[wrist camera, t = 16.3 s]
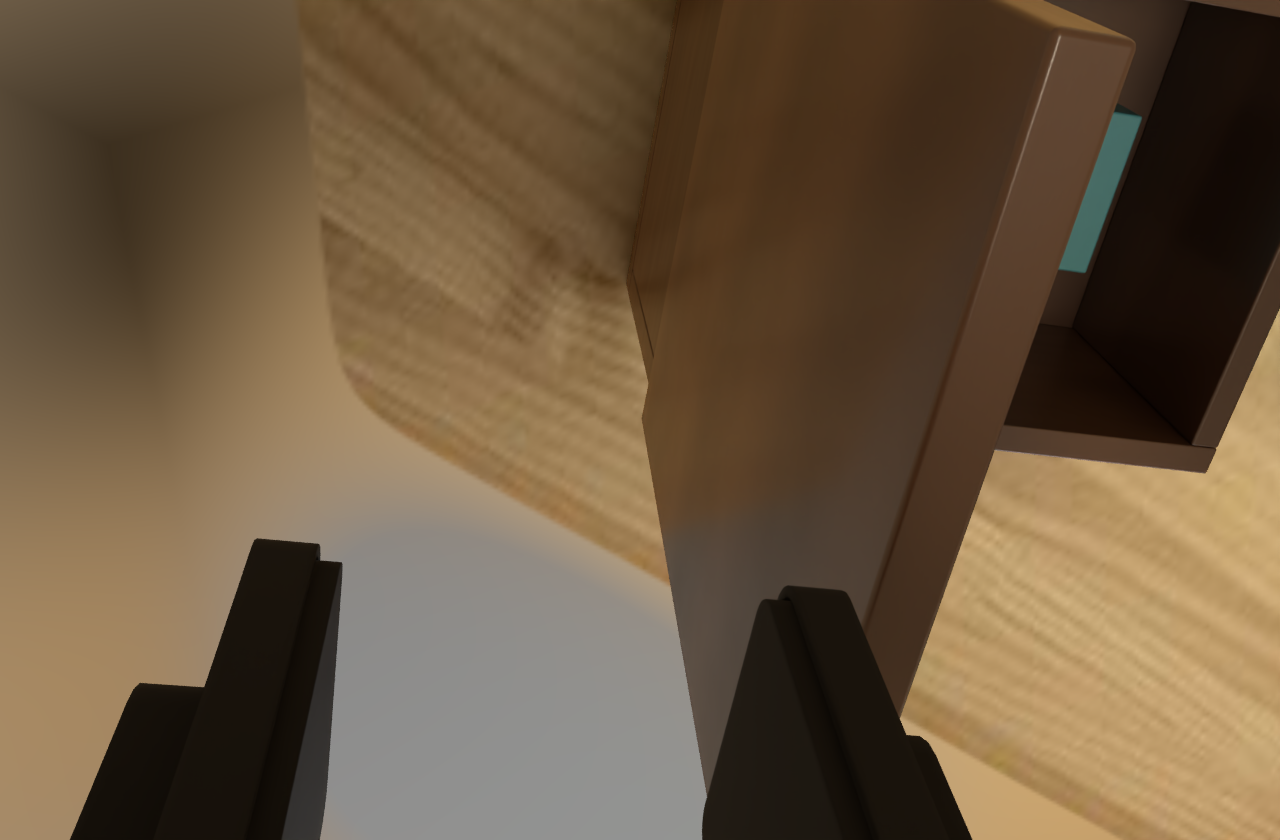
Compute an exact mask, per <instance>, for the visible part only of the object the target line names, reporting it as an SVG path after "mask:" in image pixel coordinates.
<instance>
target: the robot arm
mask: <svg viewBox="0 0 1280 840" xmlns="http://www.w3.org/2000/svg"><path fill="white" fill-rule="evenodd" d="M341 584H342V562H331V561H320V545H319V544H314V543H302V542H291V541H280V540H269V539H258V538H257V539H256V540H254V542H253V545H252V547H251V550H250V553H249V556H248V559H247V562H246V565H245V568H244V571H243V574H242V577H241V580H240V583H239V586H238V589H237V592H236V595H235V598H234V601H233V603H232V606H231V609H230V613H229V615H228V619H227V621H226V625H225V627H224V630H223V633H222V636H221V639H220V642H219V645H218V648H217V651H216V654H215V657H214V660H213V663H212V666H211V669H210V672H209V675H208V678H207V681H206V684H205V687H190V686H176V685H162V684H147V683H139V685H137V686H136V687H135V689H133V691H132V693H131V695H130V697H129V699H128V701H127V703H126V706H125V708H124V711H123V713H122V715H121V718H120V720H119V723H118V725H117V727H116V730H115V733H114V735H113V737H112V740H111V742H110V744H109V747H108V749H107V752H106V754H105V756H104V759H103V761H102V764H101V766H100V768H99V771H98V773H97V776H96V778H95V781H94V783H93V786H92V788H91V791H90V793H89V795H88V797H87V800H86V802H85V805H84V807H83V810H82V812H81V814H80V817H79V819H78V822H77V824H76V827H75V829H74V831H73V834H72V836H71V839H70V840H320V834H321V829H322V823H323V816H324V809H325V801H326V792H327V780H328V766H329V751H330V738H331V724H332V710H333V696H334V682H335V668H336V654H337V640H338V626H339V612H340V597H341ZM702 840H972V838H971V835H970V833H969V831H968V829H967V826H966V824H965V822H964V819H963V817H962V815H961V812H960V810H959V808H958V805H957V803H956V801H955V798H954V796H953V794H952V792H951V789H950V787H949V785H948V782H947V780H946V778H945V775H944V773H943V771H942V769H941V766H940V764H939V762H938V759H937V757H936V755H935V753H934V752H933V750H932V748H931V746H930V745H929V743H928V742H927V741H926V740H924V739H923V738H922V737H920V736H911V735H906V733H905V731H904V728H903V726H902V723H901V721H900V718H899V716H898V714H897V711H896V709H895V706H894V704H893V701H892V699H891V696H890V694H889V692H888V689H887V687H886V684H885V682H884V679H883V677H882V675H881V672H880V670H879V667H878V665H877V662H876V660H875V658H874V655H873V653H872V650H871V648H870V645H869V643H868V640H867V638H866V636H865V633H864V631H863V628H862V626H861V623H860V621H859V619H858V616H857V614H856V611H855V609H854V606H853V604H852V602H851V599H850V597H849V596H848V594H847V592H845V591H843V590H836V589H825V588H814V587H802V586H791V585H787V586H785V587H783V589H782V590H781V592H780V594H779V596H778V599H777V600H774V599H764V600H762V601H761V603H760V604H759V607H758V609H757V612H756V616H755V620H754V624H753V627H752V631H751V635H750V639H749V642H748V646H747V650H746V653H745V657H744V661H743V665H742V668H741V672H740V676H739V680H738V683H737V687H736V691H735V695H734V698H733V702H732V706H731V709H730V713H729V717H728V721H727V724H726V728H725V732H724V736H723V739H722V743H721V747H720V751H719V754H718V758H717V762H716V765H715V769H714V773H713V777H712V780H711V784H710V788H709V792H708V795H707V800H706V803H705V807H704V813H703V823H702Z"/></svg>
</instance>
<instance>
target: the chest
mask: <svg viewBox="0 0 1280 840" xmlns="http://www.w3.org/2000/svg"><path fill="white" fill-rule="evenodd" d="M723 1H724V0H677V3H676V9H675V14H674V20H673V25H672V31H671V37H670V42H669V48H668V53H667V59H666V65H665V70H664V76H663V81H662V87H661V93H660V98H659V104H658V109H657V115H656V120H655V126H654V132H653V137H652V143H651V148H650V154H649V160H648V165H647V171H646V176H645V182H644V188H643V193H642V199H641V204H640V210H639V216H638V221H637V227H636V232H635V238H634V243H633V249H632V255H631V260H630V266H629V271H628V277H627V283H626V284H627V289H628V294H629V298H630V303H631V307H632V312H633V316H634V320H635V325H636V329H637V334H638V338H639V343H640V347H641V352H642V356H643V360H644V365H645V369H646V374H647V378H648V383H649V379H650V374H651V369H652V364H653V359H654V354H655V348H656V343H657V338H658V333H659V328H660V323H661V318H662V313H663V308H664V302H665V297H666V292H667V287H668V282H669V277H670V272H671V267H672V262H673V257H674V251H675V246H676V241H677V236H678V231H679V226H680V221H681V216H682V211H683V206H684V200H685V195H686V190H687V185H688V180H689V175H690V170H691V165H692V160H693V154H694V149H695V144H696V139H697V134H698V129H699V124H700V119H701V114H702V109H703V103H704V98H705V93H706V88H707V83H708V78H709V73H710V68H711V63H712V58H713V52H714V47H715V42H716V37H717V32H718V27H719V22H720V17H721V12H722V6H723ZM1044 1H1046V2H1048V3H1051V4H1053V5H1055V6H1058V7H1060V8H1062V9H1064V10H1067V11H1069V12H1071V13H1074V14H1076V15H1078V16H1081V17H1083V18H1085V19H1087V20H1090V21H1092V22H1094V23H1097V24H1099V25H1101V26H1104V27H1106V28H1108V29H1110V30H1113V31H1115V32H1117V33H1120V34H1122V35H1124V36H1127V37H1129V38H1130V39H1132V40H1133V41H1134V42H1135V43H1136V51H1135V54H1134V56H1133V59H1132V62H1131V65H1130V68H1129V70H1128V73H1127V76H1126V79H1125V82H1124V85H1123V87H1122V90H1121V93H1120V96H1119V99H1118V102H1117V103H1118V104H1120V105H1122V106H1124V107H1125V108H1127V109H1129V110H1131V111H1133V112H1135V113H1136V114H1138V115H1140V116H1141V117H1142V120H1141V123H1140V125H1139V128H1138V131H1137V134H1136V136H1135V139H1134V142H1133V145H1132V147H1131V150H1130V153H1129V156H1128V158H1127V161H1126V164H1125V167H1124V169H1123V172H1122V175H1121V177H1120V180H1119V183H1118V186H1117V188H1116V191H1115V194H1114V197H1113V199H1112V202H1111V205H1110V208H1109V210H1108V213H1107V216H1106V219H1105V221H1104V224H1103V227H1102V230H1101V232H1100V235H1099V238H1098V240H1097V243H1096V246H1095V249H1094V251H1093V254H1092V257H1091V260H1090V262H1089V265H1088V268H1087V271H1086V272H1085V273H1079V272H1071V271H1064V270H1058V272H1057V274H1056V277H1055V280H1054V283H1053V286H1052V289H1051V291H1050V294H1049V297H1048V300H1047V303H1046V306H1045V308H1044V311H1043V314H1042V317H1041V320H1040V323H1039V325H1038V328H1037V331H1036V334H1035V337H1034V340H1033V342H1032V345H1031V348H1030V351H1029V354H1028V357H1027V359H1026V362H1025V365H1024V368H1023V371H1022V374H1021V376H1020V379H1019V382H1018V385H1017V388H1016V391H1015V393H1014V396H1013V399H1012V402H1011V405H1010V408H1009V410H1008V413H1007V416H1006V419H1005V422H1004V425H1003V427H1002V430H1001V433H1000V436H999V439H998V442H997V444H996V447H995V450H998V451H1007V452H1016V453H1025V454H1034V455H1044V456H1053V457H1062V458H1071V459H1080V460H1089V461H1098V462H1107V463H1116V464H1125V465H1134V466H1143V467H1152V468H1161V469H1170V470H1179V471H1188V472H1197V473H1206V472H1207V470H1208V468H1209V465H1210V463H1211V461H1212V459H1213V456H1214V454H1215V452H1216V447H1217V446H1218V444H1219V442H1220V440H1221V438H1222V435H1223V433H1224V431H1225V429H1226V427H1227V424H1228V422H1229V420H1230V418H1231V415H1232V413H1233V411H1234V409H1235V407H1236V404H1237V402H1238V400H1239V398H1240V395H1241V393H1242V391H1243V389H1244V387H1245V384H1246V382H1247V380H1248V378H1249V375H1250V373H1251V371H1252V369H1253V367H1254V364H1255V362H1256V360H1257V358H1258V355H1259V353H1260V351H1261V349H1262V347H1263V344H1264V342H1265V340H1266V338H1267V335H1268V333H1269V331H1270V329H1271V327H1272V324H1273V322H1274V320H1275V318H1276V315H1277V313H1278V311H1279V309H1280V0H1044Z"/></svg>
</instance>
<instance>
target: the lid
mask: <svg viewBox="0 0 1280 840" xmlns="http://www.w3.org/2000/svg"><path fill="white" fill-rule="evenodd" d="M1135 51H1136V43H1135V42H1134V41H1133V40H1132V39H1130V38H1129V37H1127V36H1124V35H1122V34H1120V33H1117V32H1115V31H1113V30H1110V29H1108V28H1106V27H1104V26H1101V25H1099V24H1097V23H1094V22H1092V21H1090V20H1087V19H1085V18H1083V17H1081V16H1078V15H1076V14H1074V13H1071V12H1069V11H1067V10H1064V9H1062V8H1060V7H1058V6H1055V5H1053V4H1051V3H1048V2H1046V1H1044V0H724V1H723V6H722V12H721V17H720V22H719V27H718V32H717V37H716V42H715V47H714V52H713V58H712V63H711V68H710V73H709V78H708V83H707V88H706V93H705V98H704V103H703V109H702V114H701V119H700V124H699V129H698V134H697V139H696V144H695V149H694V154H693V160H692V165H691V170H690V175H689V180H688V185H687V190H686V195H685V200H684V206H683V211H682V216H681V221H680V226H679V231H678V236H677V241H676V246H675V251H674V257H673V262H672V267H671V272H670V277H669V282H668V287H667V292H666V297H665V302H664V308H663V313H662V318H661V323H660V328H659V333H658V338H657V343H656V348H655V354H654V359H653V364H652V369H651V374H650V379H649V384H648V389H647V394H646V399H645V405H644V410H643V415H642V423H643V429H644V434H645V440H646V446H647V452H648V458H649V463H650V469H651V475H652V481H653V487H654V492H655V498H656V504H657V510H658V515H659V521H660V527H661V533H662V539H663V544H664V550H665V556H666V562H667V568H668V573H669V579H670V585H671V591H672V596H673V602H674V607H675V614H676V619H677V625H678V631H679V637H680V643H681V649H682V654H683V660H684V666H685V672H686V677H687V683H688V689H689V695H690V700H691V706H692V712H693V718H694V724H695V730H696V735H697V741H698V747H699V753H700V759H701V764H702V770H703V776H704V781H705V787H706V793H707V795H708V792H709V788H710V784H711V780H712V777H713V773H714V769H715V765H716V762H717V758H718V754H719V751H720V747H721V743H722V739H723V736H724V732H725V728H726V724H727V721H728V717H729V713H730V709H731V706H732V702H733V698H734V695H735V691H736V687H737V683H738V680H739V676H740V672H741V668H742V665H743V661H744V657H745V653H746V650H747V646H748V642H749V639H750V635H751V631H752V627H753V624H754V620H755V616H756V612H757V609H758V607H759V604H760V603H761V601H762V600H764V599H774V600H777V599H778V596H779V594H780V592H781V590H782V589H783V587H785V586H787V585H791V586H802V587H814V588H825V589H836V590H843V591H845V592H847V594H848V596H849V597H850V599H851V602H852V604H853V606H854V609H855V611H856V614H857V616H858V619H859V621H860V623H861V626H862V628H863V631H864V633H865V636H866V638H867V640H868V643H869V645H870V648H871V650H872V653H873V655H874V658H875V660H876V662H877V665H878V667H879V670H880V672H881V675H882V677H883V679H884V682H885V684H886V687H887V689H888V692H889V694H890V696H891V699H892V701H893V704H894V706H895V709H896V711H897V714H898V716H899V718H900V716H901V713H902V711H903V708H904V705H905V702H906V699H907V696H908V694H909V691H910V688H911V685H912V682H913V679H914V677H915V674H916V671H917V668H918V665H919V662H920V660H921V657H922V654H923V651H924V648H925V645H926V643H927V640H928V637H929V634H930V631H931V628H932V626H933V623H934V620H935V617H936V614H937V611H938V609H939V606H940V603H941V600H942V597H943V594H944V592H945V589H946V586H947V583H948V580H949V577H950V575H951V572H952V569H953V566H954V563H955V561H956V558H957V555H958V552H959V549H960V546H961V544H962V541H963V538H964V535H965V532H966V529H967V527H968V524H969V521H970V518H971V515H972V512H973V510H974V507H975V504H976V501H977V498H978V495H979V493H980V490H981V487H982V484H983V481H984V478H985V476H986V473H987V470H988V467H989V464H990V461H991V459H992V456H993V453H994V450H995V447H996V444H997V442H998V439H999V436H1000V433H1001V430H1002V427H1003V425H1004V422H1005V419H1006V416H1007V413H1008V410H1009V408H1010V405H1011V402H1012V399H1013V396H1014V393H1015V391H1016V388H1017V385H1018V382H1019V379H1020V376H1021V374H1022V371H1023V368H1024V365H1025V362H1026V359H1027V357H1028V354H1029V351H1030V348H1031V345H1032V342H1033V340H1034V337H1035V334H1036V331H1037V328H1038V325H1039V323H1040V320H1041V317H1042V314H1043V311H1044V308H1045V306H1046V303H1047V300H1048V297H1049V294H1050V291H1051V289H1052V286H1053V283H1054V280H1055V277H1056V274H1057V272H1058V269H1059V266H1060V263H1061V260H1062V257H1063V255H1064V252H1065V249H1066V246H1067V243H1068V240H1069V238H1070V235H1071V232H1072V229H1073V226H1074V223H1075V221H1076V218H1077V215H1078V212H1079V209H1080V206H1081V204H1082V201H1083V198H1084V195H1085V192H1086V189H1087V187H1088V184H1089V181H1090V178H1091V175H1092V172H1093V170H1094V167H1095V164H1096V161H1097V158H1098V155H1099V153H1100V150H1101V147H1102V144H1103V141H1104V138H1105V136H1106V133H1107V130H1108V127H1109V124H1110V121H1111V119H1112V116H1113V113H1114V110H1115V107H1116V104H1117V102H1118V99H1119V96H1120V93H1121V90H1122V87H1123V85H1124V82H1125V79H1126V76H1127V73H1128V70H1129V68H1130V65H1131V62H1132V59H1133V56H1134V54H1135Z"/></svg>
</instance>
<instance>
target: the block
mask: <svg viewBox="0 0 1280 840" xmlns="http://www.w3.org/2000/svg"><path fill="white" fill-rule="evenodd" d="M1141 120H1142V117H1141V116H1140V115H1138V114H1136V113H1135V112H1133V111H1131V110H1129V109H1127V108H1125V107H1124V106H1122V105H1120V104H1118V103H1117V104H1116V107H1115V110H1114V113H1113V116H1112V119H1111V121H1110V124H1109V127H1108V130H1107V133H1106V136H1105V138H1104V141H1103V144H1102V147H1101V150H1100V153H1099V155H1098V158H1097V161H1096V164H1095V167H1094V170H1093V172H1092V175H1091V178H1090V181H1089V184H1088V187H1087V189H1086V192H1085V195H1084V198H1083V201H1082V204H1081V206H1080V209H1079V212H1078V215H1077V218H1076V221H1075V223H1074V226H1073V229H1072V232H1071V235H1070V238H1069V240H1068V243H1067V246H1066V249H1065V252H1064V255H1063V257H1062V260H1061V263H1060V266H1059V269H1058V270H1064V271H1071V272H1079V273H1085V272H1086V271H1087V268H1088V265H1089V262H1090V260H1091V257H1092V254H1093V251H1094V249H1095V246H1096V243H1097V240H1098V238H1099V235H1100V232H1101V230H1102V227H1103V224H1104V221H1105V219H1106V216H1107V213H1108V210H1109V208H1110V205H1111V202H1112V199H1113V197H1114V194H1115V191H1116V188H1117V186H1118V183H1119V180H1120V177H1121V175H1122V172H1123V169H1124V167H1125V164H1126V161H1127V158H1128V156H1129V153H1130V150H1131V147H1132V145H1133V142H1134V139H1135V136H1136V134H1137V131H1138V128H1139V125H1140V123H1141Z"/></svg>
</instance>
